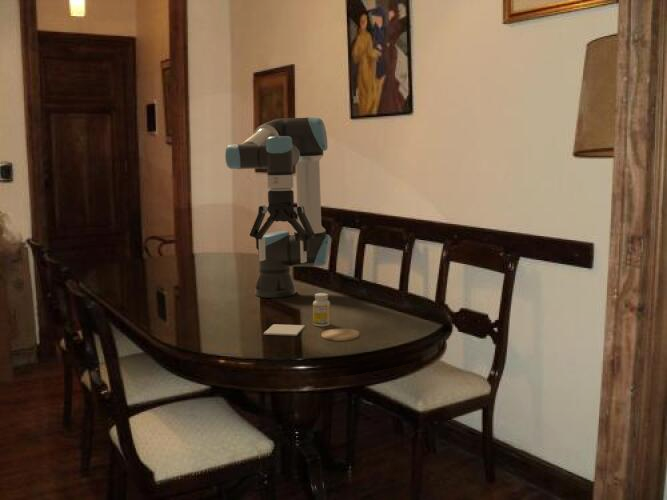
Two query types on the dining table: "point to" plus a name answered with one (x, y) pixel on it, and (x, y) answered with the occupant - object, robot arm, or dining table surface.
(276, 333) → the felt mat
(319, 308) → the supplement bottle
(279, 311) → the dining table surface
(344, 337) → the cork coaster
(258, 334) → the dining table surface
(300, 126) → the robot arm
